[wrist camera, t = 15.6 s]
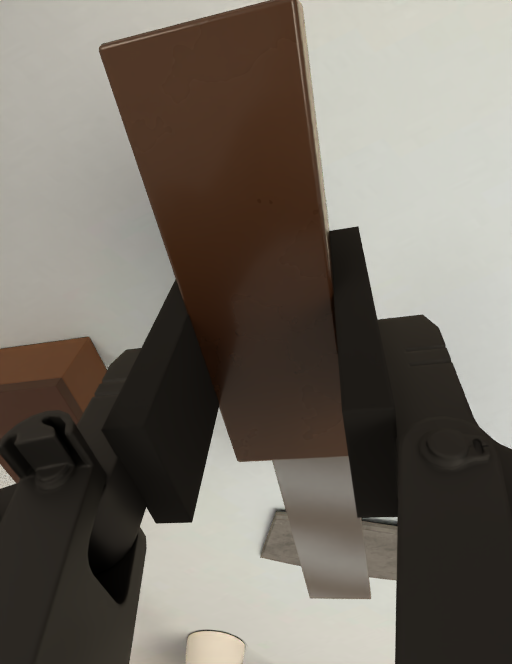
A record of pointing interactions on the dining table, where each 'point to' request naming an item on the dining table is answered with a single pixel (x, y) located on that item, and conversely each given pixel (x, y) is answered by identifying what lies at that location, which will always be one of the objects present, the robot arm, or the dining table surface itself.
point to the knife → (252, 252)
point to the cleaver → (376, 540)
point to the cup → (214, 648)
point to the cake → (47, 382)
